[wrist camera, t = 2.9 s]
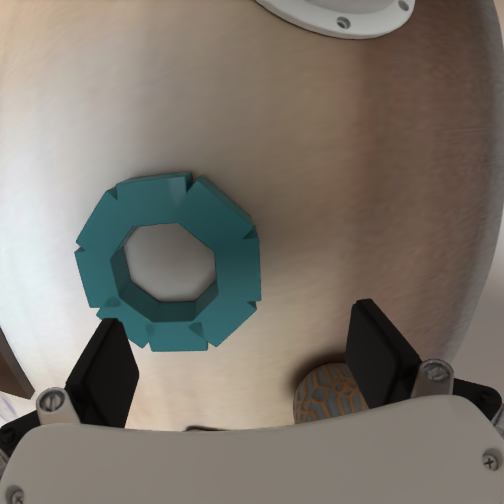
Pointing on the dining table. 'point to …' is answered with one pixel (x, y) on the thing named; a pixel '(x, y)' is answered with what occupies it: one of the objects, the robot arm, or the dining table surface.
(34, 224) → the dining table surface
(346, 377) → the vase
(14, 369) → the stand
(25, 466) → the robot arm
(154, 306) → the ring
